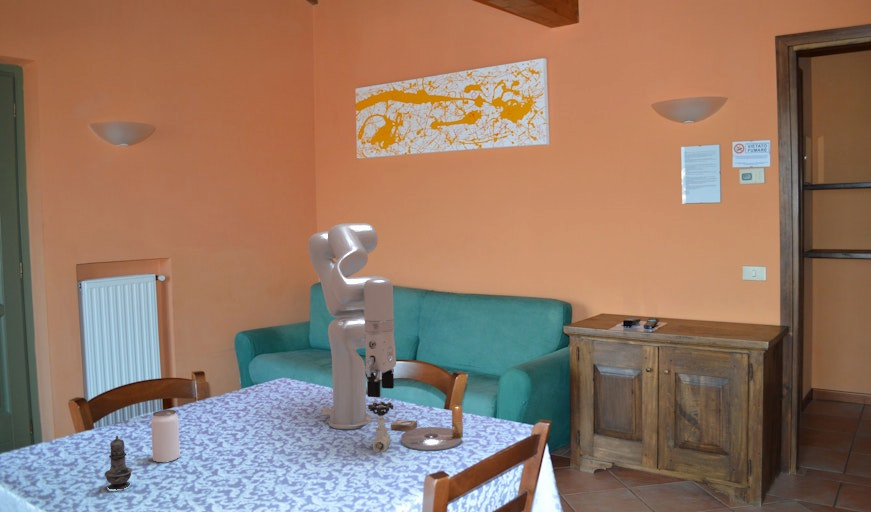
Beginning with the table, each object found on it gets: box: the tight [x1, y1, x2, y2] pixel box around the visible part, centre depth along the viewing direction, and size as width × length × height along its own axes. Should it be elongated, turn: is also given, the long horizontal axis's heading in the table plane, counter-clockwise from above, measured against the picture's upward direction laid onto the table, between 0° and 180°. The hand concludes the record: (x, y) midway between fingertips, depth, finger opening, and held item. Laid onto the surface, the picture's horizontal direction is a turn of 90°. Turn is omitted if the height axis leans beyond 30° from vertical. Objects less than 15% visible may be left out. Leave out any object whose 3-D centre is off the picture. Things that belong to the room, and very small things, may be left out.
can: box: [150, 409, 181, 463], centre depth 182 cm, size 6×6×12 cm
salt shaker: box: [104, 435, 133, 490], centre depth 163 cm, size 6×6×12 cm
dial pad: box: [390, 419, 418, 432], centre depth 202 cm, size 6×5×3 cm
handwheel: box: [400, 404, 464, 452], centre depth 190 cm, size 16×16×9 cm
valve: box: [367, 401, 394, 453], centre depth 186 cm, size 7×7×12 cm
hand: (381, 392), depth 185 cm, fingers open, 9 cm apart
